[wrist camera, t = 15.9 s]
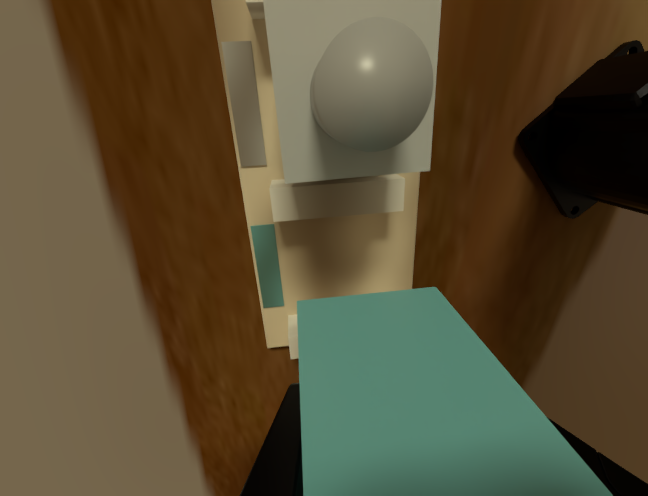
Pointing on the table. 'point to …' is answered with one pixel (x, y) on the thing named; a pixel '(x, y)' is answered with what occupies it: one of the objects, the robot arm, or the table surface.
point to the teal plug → (419, 407)
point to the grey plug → (353, 85)
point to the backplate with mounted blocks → (305, 197)
